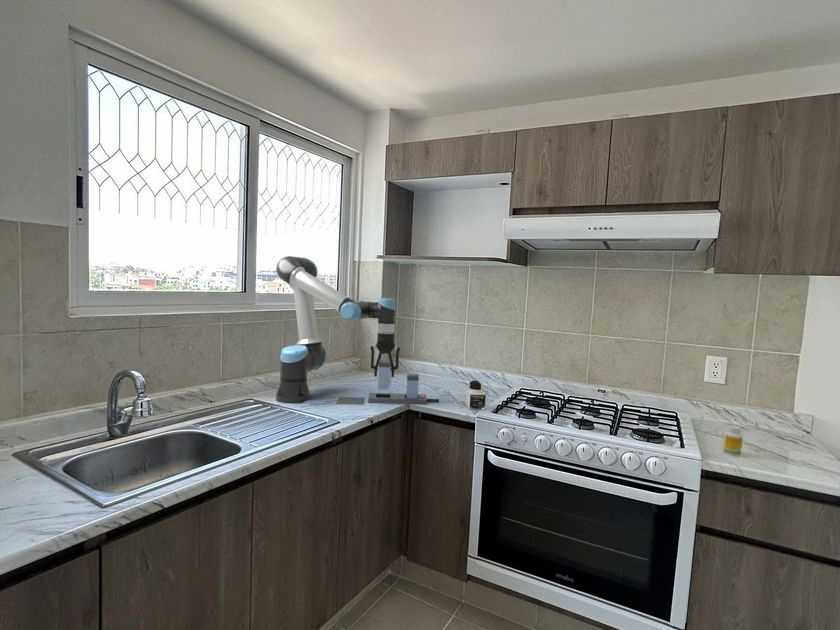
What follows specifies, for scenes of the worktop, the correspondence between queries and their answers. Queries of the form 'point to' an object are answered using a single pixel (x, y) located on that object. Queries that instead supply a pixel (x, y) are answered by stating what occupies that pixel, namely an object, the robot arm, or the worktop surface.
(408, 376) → the twin plug
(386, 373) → the plug
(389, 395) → the strip
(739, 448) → the supplement bottle
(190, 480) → the worktop surface
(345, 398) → the mat
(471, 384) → the medicine bottle
